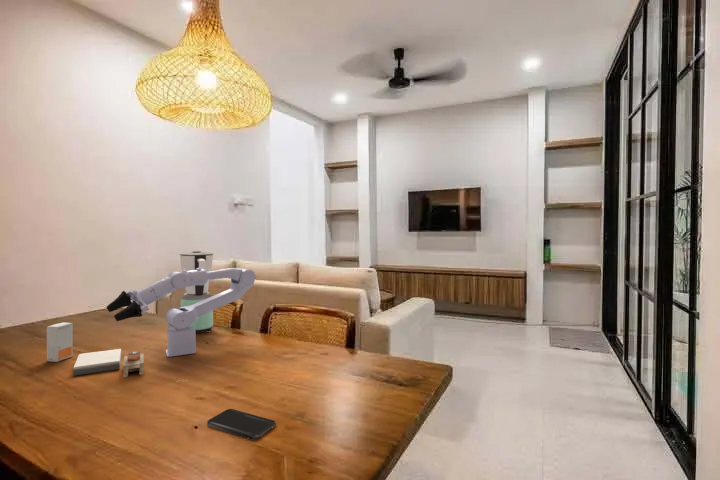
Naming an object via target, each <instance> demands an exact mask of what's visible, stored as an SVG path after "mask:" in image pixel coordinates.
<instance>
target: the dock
mask: <svg viewBox="0 0 720 480" xmlns="http://www.w3.org/2000/svg"><path fill="white" fill-rule="evenodd" d="M121 359H122V348H115V349H108V350H102V351H101V350H100V351H93V352H92V351H91V352H84V353H79V354H78V356H77V358H76V361H75V363H74V366H73V370H72V371H73V373H72V375H73V376H80V375H86V374H93V373H100V372H101V373H102V372H107V371H113V370H120V367H121V361H122V360H121Z"/></svg>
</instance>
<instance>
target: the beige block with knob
mask: <svg viewBox="0 0 720 480" xmlns="http://www.w3.org/2000/svg"><path fill="white" fill-rule="evenodd" d="M122 369H123V374H122V377H123V378H127V377H129V373H130V372H138V371H139V375H145V358H144V353H140V360H137V361H131V362H130V361H127V355H124V356H123V365H122Z"/></svg>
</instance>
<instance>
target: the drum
mask: <svg viewBox="0 0 720 480" xmlns="http://www.w3.org/2000/svg"><path fill="white" fill-rule="evenodd" d="M140 354H141V352H140V351H129V352H128V353H127V354H126V356H127V361H130V362H131V361H137V360H140Z"/></svg>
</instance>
